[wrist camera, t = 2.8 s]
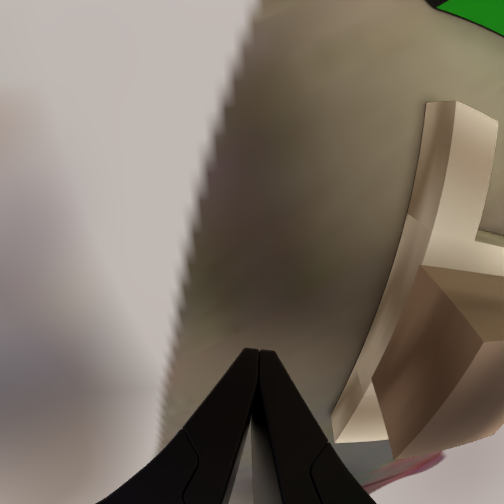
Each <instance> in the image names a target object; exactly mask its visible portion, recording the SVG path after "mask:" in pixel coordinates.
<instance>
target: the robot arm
mask: <svg viewBox="0 0 504 504" xmlns="http://www.w3.org/2000/svg"><path fill="white" fill-rule="evenodd" d="M250 420H251V445H252V471H253V495H254V504H376V503H375V501H374V500H373V499H372V498H371V497H370V496H369V494H368V493H367V492H366V491H365V490H364V489H363V488H362V487H361V485H360V484H359V483H358V482H357V481H356V479H355V478H354V477H353V476H352V474H351V473H350V472H349V471H348V469H347V468H346V467H345V465H344V464H343V462H342V461H341V459H340V458H339V456H338V455H337V453H336V452H335V450H334V449H333V447H332V445H331V444H330V443H329V442H328V439H327V438H326V436H325V434H324V433H323V431H322V429H321V428H320V426H319V425H318V423H317V421H316V420H315V418H314V416H313V415H312V413H311V411H310V410H309V408H308V406H307V405H306V403H305V401H304V400H303V398H302V396H301V395H300V393H299V391H298V390H297V388H296V386H295V385H294V383H293V381H292V380H291V378H290V376H289V374H288V373H287V371H286V369H285V368H284V366H283V364H282V363H281V361H280V359H279V357H278V356H277V354H276V352H275V351H272V350H260V352H259V350H258V349H253V348H244V349H243V350H242V352H241V353H240V354H239V356H238V357H237V358H236V360H235V361H234V362H233V364H232V365H231V366H230V368H229V369H228V370H227V371H226V373H225V374H224V375H223V377H222V378H221V379H220V381H219V382H218V383H217V384H216V386H215V387H214V388H213V390H212V391H211V392H210V393H209V395H208V396H207V397H206V398H205V400H204V401H203V402H202V404H201V405H200V406H199V407H198V409H197V410H196V411H195V412H194V414H193V415H192V416H191V417H190V418H189V420H188V421H187V422H186V423H185V425H184V426H183V427H182V429H180V430H179V432H178V433H177V434H176V435H175V436H174V438H173V439H172V440H171V441H170V442H169V443H168V444H167V446H166V447H165V448H164V449H163V450H162V451H161V452H160V453H159V454H158V455H157V456H156V457H155V458H154V459H153V460H151V461H150V462H149V463H148V464H147V465H146V466H145V467H144V468H143V469H141V470H140V471H139V472H138V473H136V474H135V475H134V476H133V477H132V478H130V479H129V480H128V481H127V482H125V483H124V484H123V485H122V486H121V487H119V488H118V489H117V490H115V491H114V492H113V493H111V494H110V495H109V496H107V497H106V498H104V499H103V500H101V501H99V502H98V503H96V504H228V502H229V499H230V496H231V492H232V489H233V485H234V481H235V478H236V474H237V471H238V467H239V463H240V460H241V456H242V452H243V448H244V445H245V441H246V437H247V433H248V429H249V425H250ZM327 442H328V443H327Z"/></svg>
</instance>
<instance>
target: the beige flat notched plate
mask: <svg viewBox="0 0 504 504" xmlns="http://www.w3.org/2000/svg"><path fill="white" fill-rule="evenodd" d="M497 131H498V121H496V120H494V119H492V118H490V117H488V116H487V115H485V114H483V113H481V112H479V111H477V110H475V109H473V108H471V107H469V106H467V105H464V104H462V103H460V102H458V101H443V102H430V103H426V111H425V120H424V128H423V135H422V142H421V148H420V154H419V160H418V166H417V171H416V176H415V181H414V186H413V191H412V195H411V200H410V204H409V208H408V212H407V217H406V221H405V224H404V228H403V232H402V236H401V239H400V243H399V246H398V250H397V253H396V257H395V260H394V263H393V266H392V270H391V273H390V276H389V279H388V282H387V285H386V288H385V291H384V294H383V297H382V299H381V302H380V305H379V308H378V310H377V313H376V316H375V318H374V321H373V324H372V326H371V329H370V331H369V334H368V336H367V339H366V341H365V343H364V346H363V348H362V351H361V353H360V355H359V358H358V360H357V362H356V364H355V367H354V369H353V371H352V373H351V375H350V377H349V380H348V382H347V384H346V386H345V388H344V390H343V392H342V394H341V396H340V398H339V400H338V402H337V404H336V406H335V408H334V410H333V412H332V414H331V420H332V427H333V434H334V442H335V443H350V442H365V441H377V440H386V439H388V435H387V431H386V427H385V424H384V420H383V417H382V413H381V410H380V406H379V403H378V400H377V396H376V393H375V390H374V386H373V383H372V380H371V378H372V376H373V374H374V372H375V370H376V368H377V366H378V364H379V362H380V360H381V358H382V356H383V354H384V352H385V349H386V347H387V345H388V343H389V341H390V339H391V336H392V334H393V332H394V330H395V327H396V325H397V323H398V320H399V318H400V315H401V313H402V311H403V308H404V306H405V303H406V301H407V298H408V295H409V293H410V290H411V287H412V285H413V282H414V279H415V276H416V273H417V270H418V267H419V265H426V266H433V267H441V268H448V269H455V270H462V271H469V272H476V273H483V274H490V275H497V276H504V236H500V235H496V234H493V233H489V232H485V231H481V230H478V227H479V223H480V220H481V216H482V212H483V208H484V204H485V200H486V196H487V192H488V187H489V182H490V177H491V172H492V166H493V161H494V154H495V147H496V140H497Z"/></svg>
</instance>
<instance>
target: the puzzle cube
mask: <svg viewBox="0 0 504 504" xmlns="http://www.w3.org/2000/svg"><path fill="white" fill-rule="evenodd" d="M429 2H430V3H431V4H432V5H433V6H434V7H436V8H438V9H441V10H444V11H447V12H450V13H453V14H455V15H458V16H461V17H463V18H466V19H468V20H471V21H473V22H475V23H478V24H480V25H482V26H484V27H487V28H489V29H491V30H493V31H495V32H497V33H499V34H501V35H503V36H504V0H429Z"/></svg>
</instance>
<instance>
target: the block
mask: <svg viewBox="0 0 504 504" xmlns="http://www.w3.org/2000/svg"><path fill="white" fill-rule="evenodd" d="M371 380H372V383H373V386H374V390H375V393H376V396H377V400H378V403H379V406H380V410H381V413H382V417H383V420H384V424H385V427H386V431H387V435H388V439H389V442H390V446H391V450H392V454H393V458H394V460H398V459H404V458H409V457H415V456H420V455H424V454H429V453H433V452H438V451H442V450H446V449H449V448H453V447H457V446H460V445H463V444H466V443H470V442H473V441H476V440H479V439H482V438H485V437H488V436H491V435H494V434H495V432H496V431H497V430H498V429H499V428H500V427H501V426H502V425H503V424H504V276H497V275H490V274H483V273H476V272H469V271H462V270H455V269H448V268H441V267H433V266H426V265H419V267H418V270H417V273H416V276H415V279H414V282H413V285H412V287H411V290H410V293H409V295H408V298H407V301H406V303H405V306H404V308H403V311H402V313H401V315H400V318H399V320H398V323H397V325H396V327H395V330H394V332H393V334H392V336H391V339H390V341H389V343H388V345H387V347H386V349H385V352H384V354H383V356H382V358H381V360H380V362H379V364H378V366H377V368H376V370H375V372H374V374H373V376H372V378H371Z"/></svg>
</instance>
